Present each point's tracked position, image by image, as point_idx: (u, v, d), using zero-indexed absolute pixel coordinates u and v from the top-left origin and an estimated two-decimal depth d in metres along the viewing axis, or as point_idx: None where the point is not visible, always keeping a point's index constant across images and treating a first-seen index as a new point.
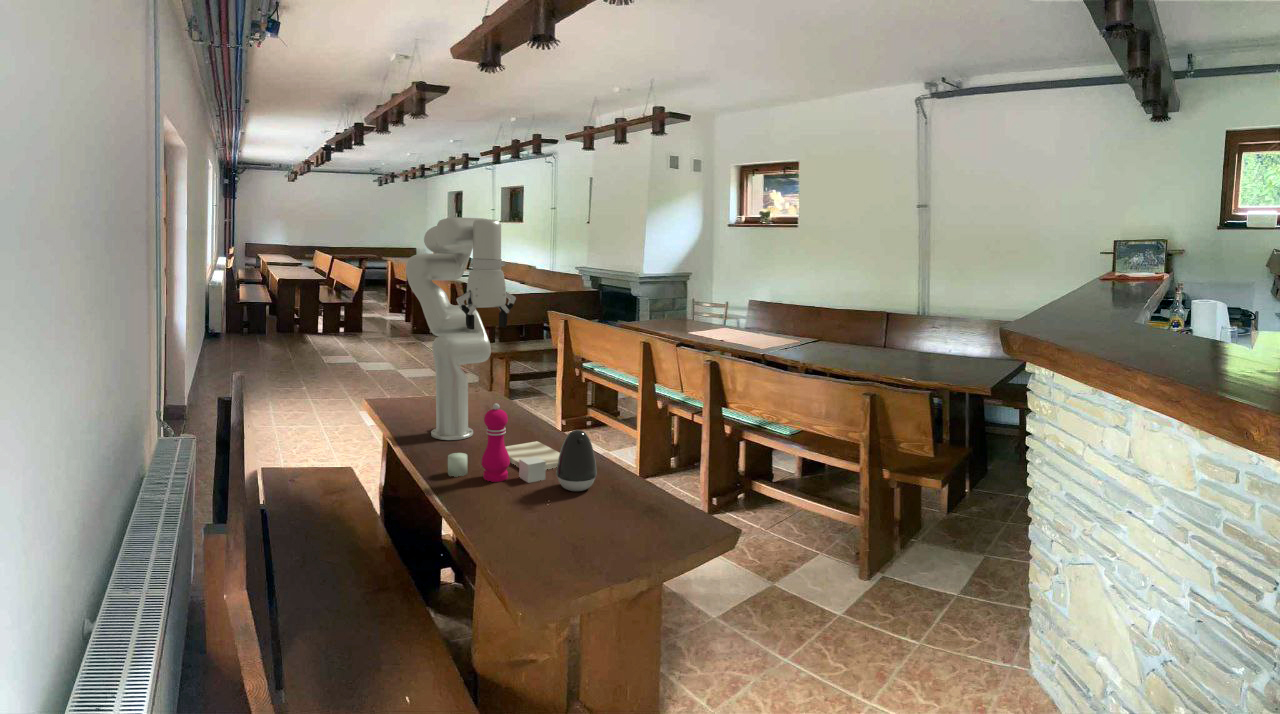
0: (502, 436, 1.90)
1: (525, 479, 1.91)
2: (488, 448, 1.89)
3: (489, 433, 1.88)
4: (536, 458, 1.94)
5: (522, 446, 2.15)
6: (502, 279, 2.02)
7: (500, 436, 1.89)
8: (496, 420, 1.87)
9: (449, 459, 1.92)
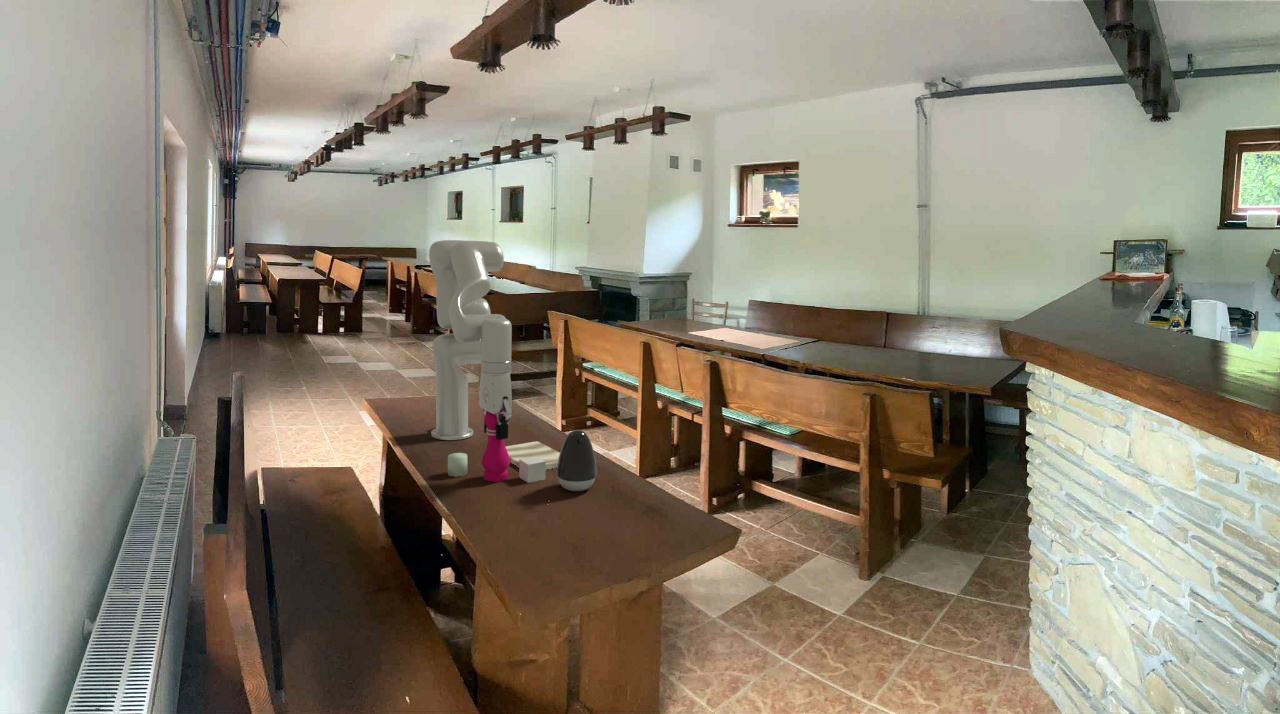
0: None
1: (525, 479, 1.91)
2: (488, 448, 1.89)
3: (489, 433, 1.88)
4: (536, 458, 1.94)
5: (522, 446, 2.15)
6: None
7: None
8: (496, 420, 1.87)
9: (449, 459, 1.92)
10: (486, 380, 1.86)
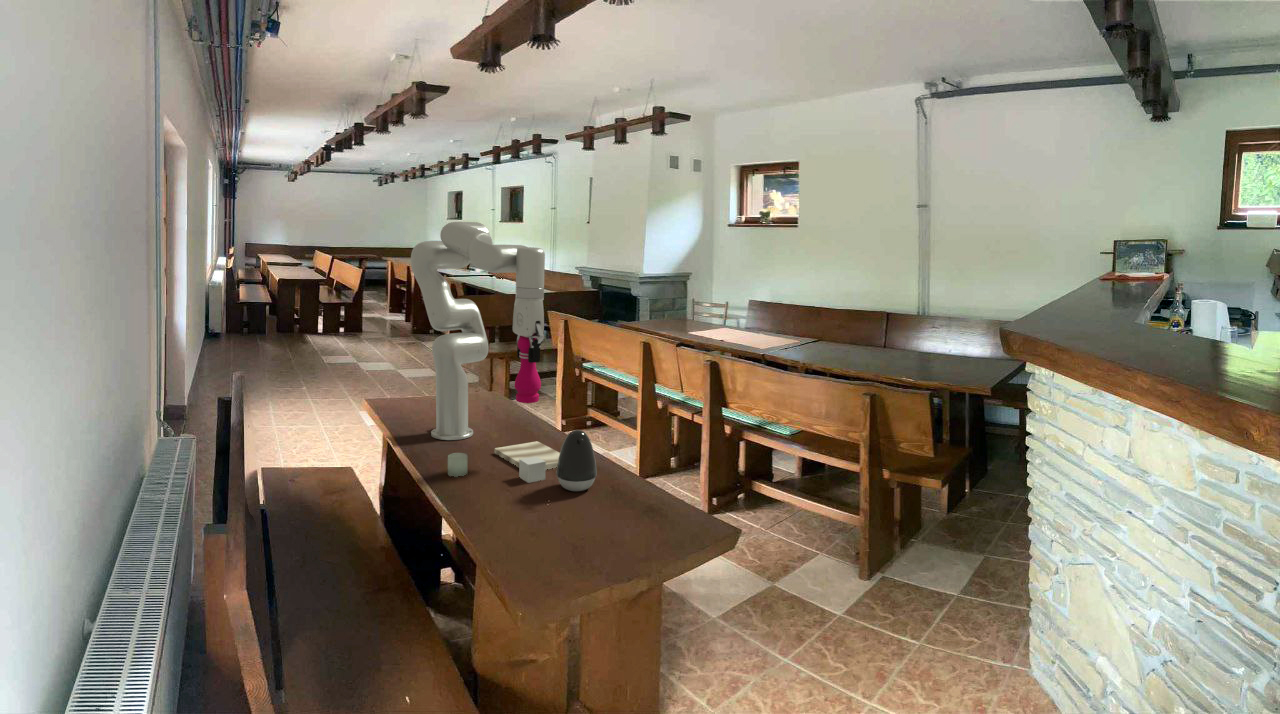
0: None
1: (525, 479, 1.91)
2: (521, 371, 2.00)
3: (522, 356, 1.99)
4: (536, 458, 1.94)
5: (522, 446, 2.15)
6: None
7: None
8: (529, 343, 1.98)
9: (449, 459, 1.92)
10: (520, 305, 1.97)
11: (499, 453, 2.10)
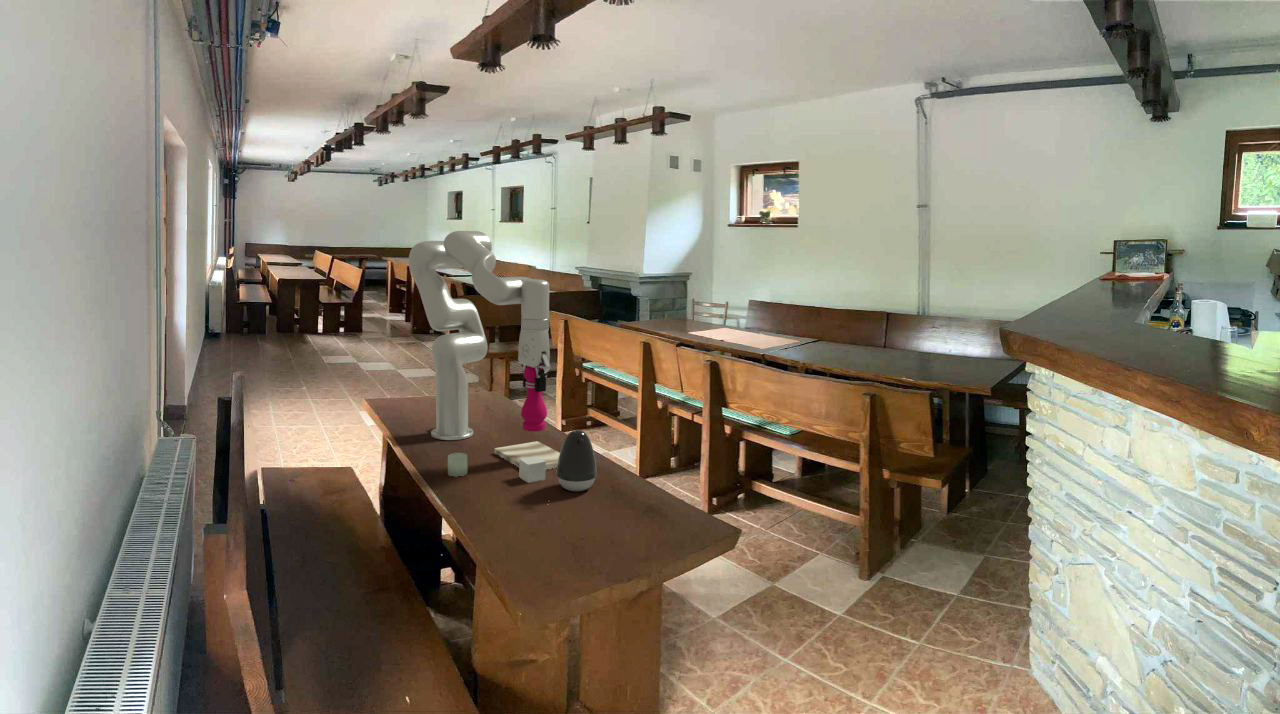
0: None
1: (525, 479, 1.91)
2: (527, 400, 2.04)
3: (528, 386, 2.03)
4: (536, 458, 1.94)
5: (522, 446, 2.15)
6: None
7: None
8: (535, 373, 2.02)
9: (449, 459, 1.92)
10: (525, 336, 2.01)
11: (499, 453, 2.10)
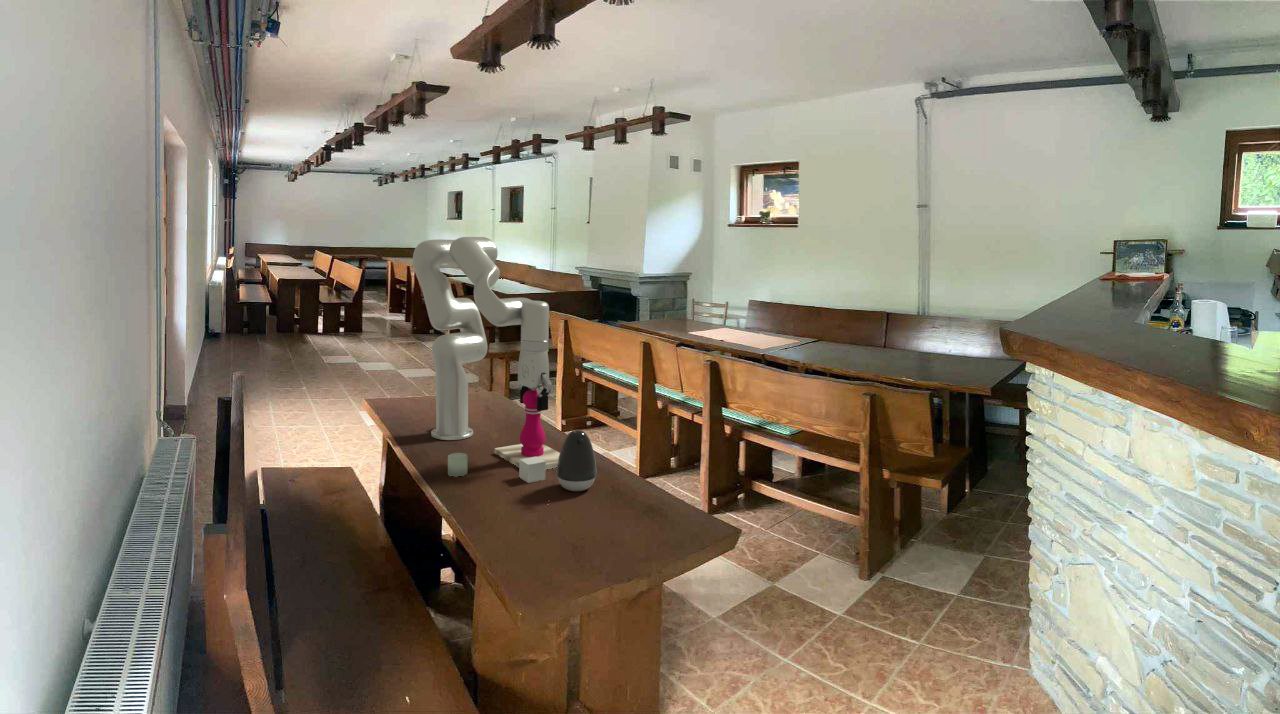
0: (539, 415, 2.06)
1: (525, 479, 1.91)
2: (526, 425, 2.06)
3: (527, 412, 2.05)
4: (536, 458, 1.94)
5: None
6: None
7: (537, 415, 2.05)
8: (534, 399, 2.03)
9: (449, 459, 1.92)
10: (525, 357, 2.02)
11: (499, 453, 2.10)
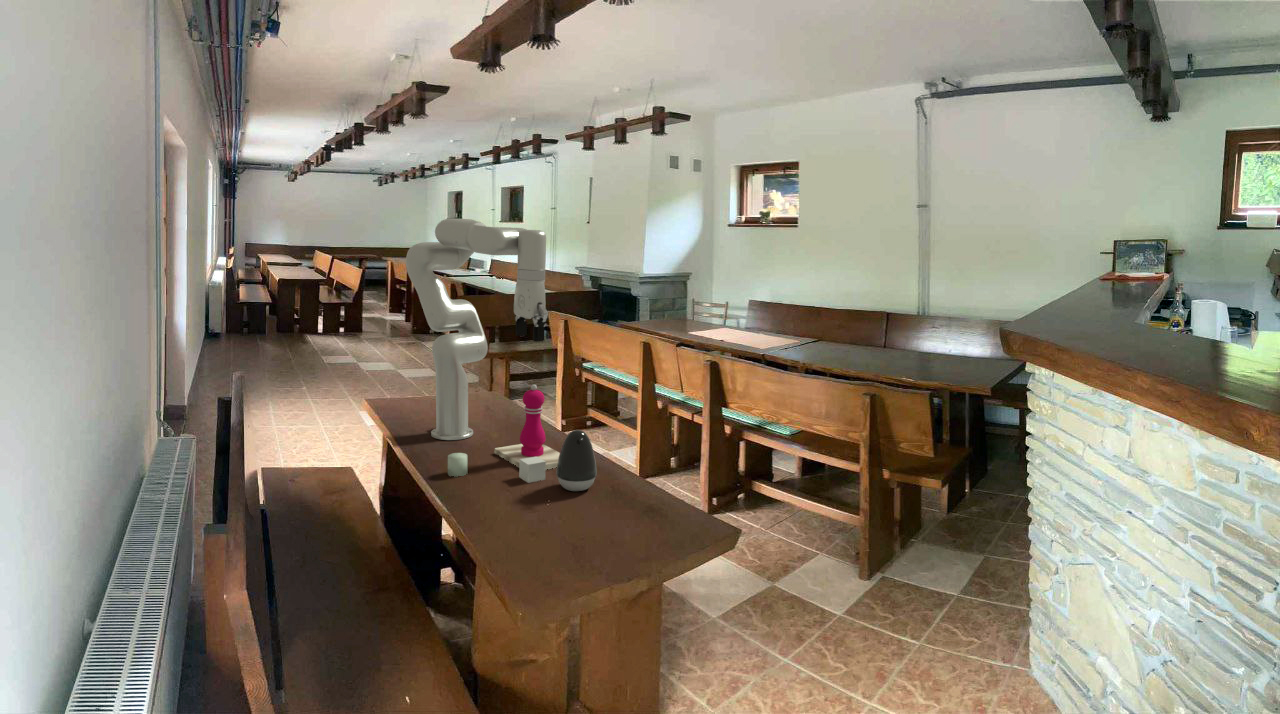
0: (539, 414, 2.06)
1: (525, 479, 1.91)
2: (526, 425, 2.06)
3: (527, 411, 2.05)
4: (536, 458, 1.94)
5: None
6: None
7: (537, 414, 2.05)
8: (534, 399, 2.03)
9: (449, 459, 1.92)
10: (521, 287, 1.99)
11: (499, 453, 2.10)
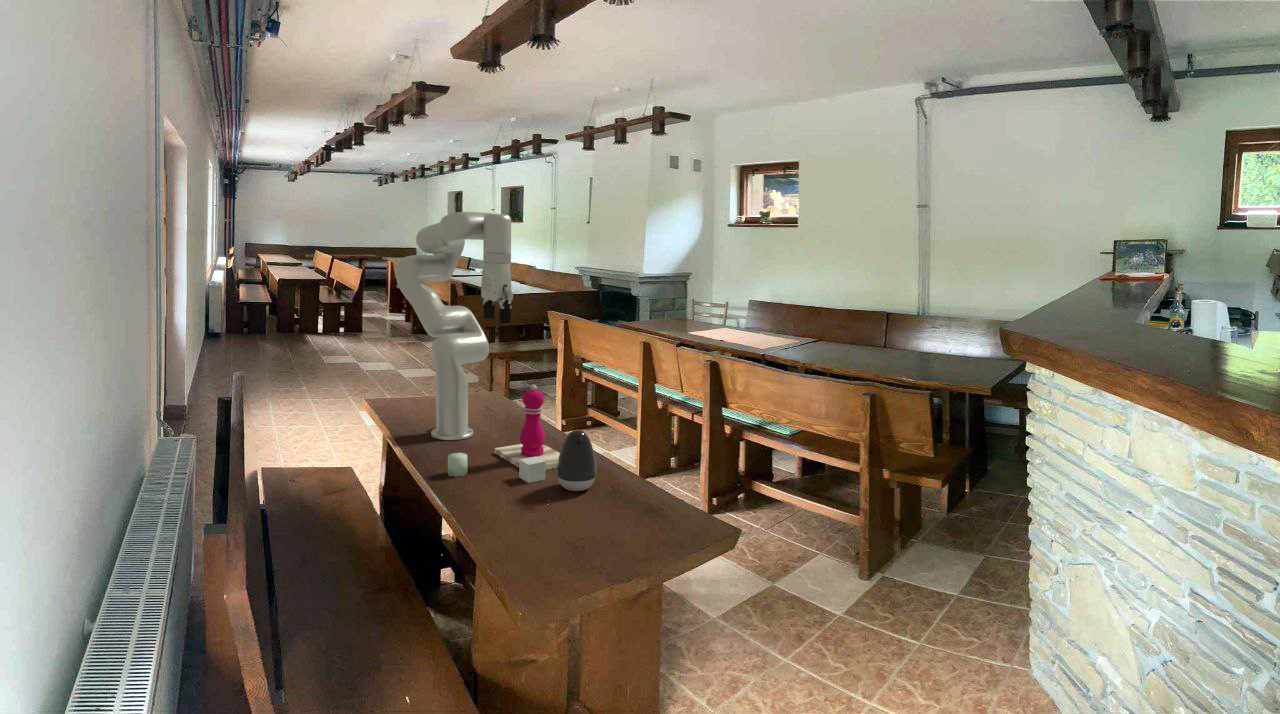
0: (539, 415, 2.06)
1: (525, 479, 1.91)
2: (526, 425, 2.06)
3: (527, 412, 2.05)
4: (536, 458, 1.94)
5: None
6: None
7: (537, 415, 2.05)
8: (534, 399, 2.03)
9: (449, 459, 1.92)
10: (487, 270, 2.03)
11: (499, 453, 2.10)
